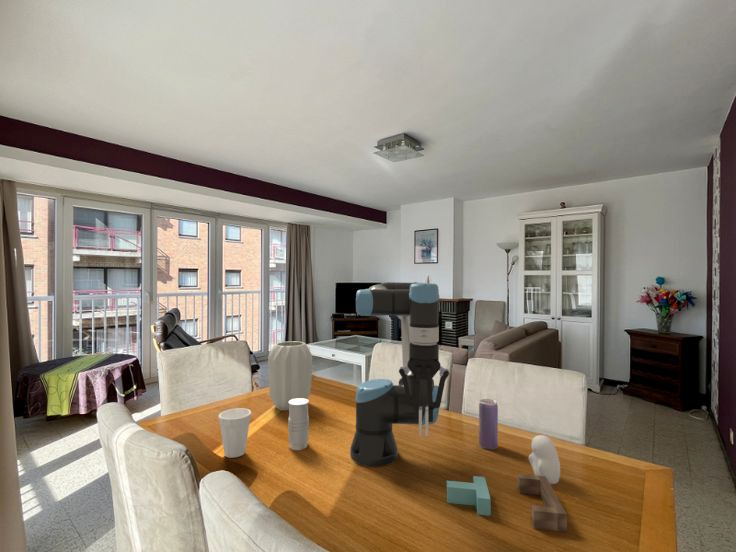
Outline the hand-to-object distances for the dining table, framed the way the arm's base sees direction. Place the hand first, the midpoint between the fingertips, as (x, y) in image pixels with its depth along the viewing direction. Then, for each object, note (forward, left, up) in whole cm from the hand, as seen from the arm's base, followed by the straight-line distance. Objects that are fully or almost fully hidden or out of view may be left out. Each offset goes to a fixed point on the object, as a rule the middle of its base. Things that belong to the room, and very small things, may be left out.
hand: (423, 433), depth 97 cm
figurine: (+34, +15, -17) cm, 41 cm away
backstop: (+29, 0, -16) cm, 33 cm away
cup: (-60, +13, -17) cm, 64 cm away
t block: (+11, 0, -17) cm, 20 cm away
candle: (-42, +22, -17) cm, 50 cm away
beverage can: (+21, +33, -17) cm, 43 cm away
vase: (-59, +58, -17) cm, 84 cm away
